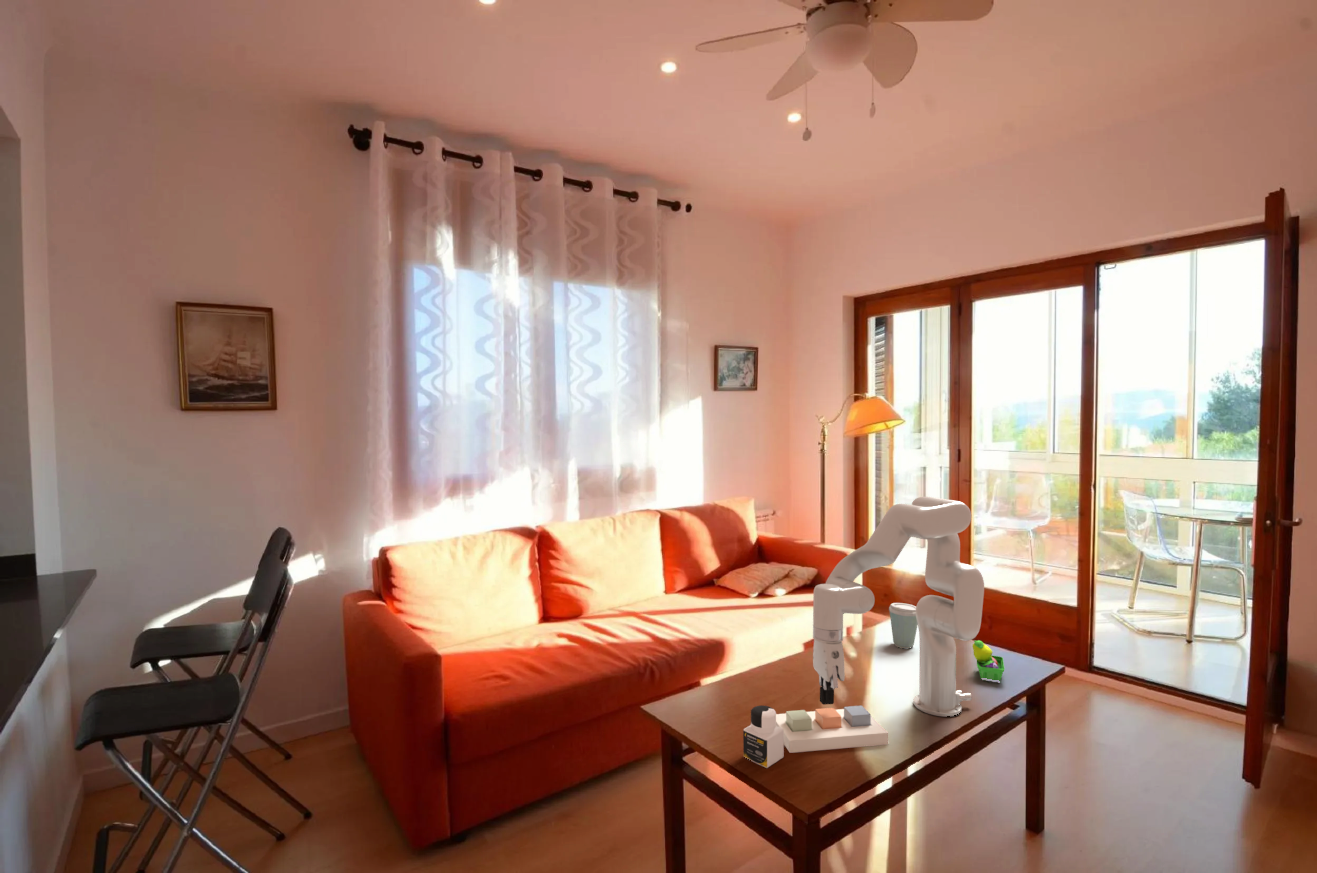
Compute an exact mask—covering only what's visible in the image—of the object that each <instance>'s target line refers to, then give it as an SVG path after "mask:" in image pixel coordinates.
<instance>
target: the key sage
mask: <svg viewBox="0 0 1317 873" xmlns="http://www.w3.org/2000/svg"><path fill="white" fill-rule="evenodd" d="M807 712H808V711H806V710H805V709H800V710H788V711H787V710H786V711H785V713H786V724H787V725H788V727H789V728H790V729H791V731H792V732H796V731H809V730H812V719H811V717H810V716H809V715H808V714H807Z"/></svg>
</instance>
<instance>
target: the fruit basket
mask: <svg viewBox="0 0 1317 873" xmlns="http://www.w3.org/2000/svg"><path fill="white" fill-rule="evenodd" d="M973 642H974V643H972V650H973V652H972V653H973V656H974V658H975V659H976V666H977V669H978V672H979V676H980V677H979V678H980V679H981V678H987V679H992V680H999V681H1000V680H1002V677H1003V673H1004V671H1005V664H1004V663H1005V662H1004V657H1002V656H998V655H993V650H992V649H991V648H990V647H989V646H988V645H987V644H985V643H984V642H983V641H982V640H974V641H973ZM1000 682H1001V681H1000Z"/></svg>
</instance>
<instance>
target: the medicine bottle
mask: <svg viewBox="0 0 1317 873" xmlns="http://www.w3.org/2000/svg"><path fill="white" fill-rule="evenodd" d="M776 714H777V711H776V710H775V709H774V708H773V707H772V706H767V705H756V706H754V707H752V708H751V709H750V725H747V727H744V728H743V731H742V732H743V735H742V736H743V737H742V738H743V740H742V743H743V745H742V746H743V754H742V755H743V758H744V757H745V759H746V758H747V760H748V759H749V760H748V761H750V760H751V762H753V763H755V764H756V765H759V766H761V767H764V768H766V769H768V768H769V767H771V766H773V765H774V764H775V763H777V762H779V761H780V760H781V759H783V758H784V757H785V756H784V753H785V751H784V750H785V749H784V748H785V745H784V730H783V729H782V728H780V727H777V726H776Z"/></svg>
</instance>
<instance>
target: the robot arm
mask: <svg viewBox="0 0 1317 873" xmlns="http://www.w3.org/2000/svg"><path fill="white" fill-rule="evenodd" d="M971 522H972V512H971V509H970V508H969V506H968V505H967V504H965V503H964V502H962V501H959V500H953V499H948V498H947V499H945V498H942V497H941V498H940V497H934V496H918V497H916V498H915V499H913V501H912V503H911V504H908V503H897V504H894V505H892V506H890V507H889V509H888V510H887V512H886V513H885V514H884V516H883V517H882V519H881V520H880V522H879V524H878V525H877V526H876V528H875V530H874V532H873V533H872V534H871V536H870V538H869V539H868V540H867V541H866V543H865V544H864V545H862V546H860V547H859V548H857V549H855V550H854V551H852V552H851V553H849V554H848V555H846V556H845V557H844V558H841V560H840V561H839V562H838V563H837V564H836V565H835V567H834V568H833V570H832V571H831V573H829V576H828V577H827V579H826V580H825V583H820V584H817V585H815V587H814V589H813V607H812V609H813V610H812V611H813V613H812V615H813V618H812V620H813V621H812V638H813V650H812V666H813V668H814V671H815V672H817V674H818V678H819V679H818V682H819V686H820V687H819V702H820V703H821V704H822V705H833V704H835V690H836V689H837V688H839V682H838V680H839V681H841V682H844V681H845V677H846V676H845V673H846V672H845V655H844V646H843V641H844V640H843V639H844V614H853V615H862V614H866V613H868V612H869V611H870V610H872V609H873V607H874V605H875V600H876V599H875V595H874V593H873V591H872V589H870V588H869V587H867V586H865V585H863V584H860V583H858V582H855V580H856V579H857V578H858V577H859V576H860V575H861V574H864V573H866V572H867V571H868V570H869V571H870V570H871V569H876V568H877V569H878V568H881V567H882V568H883V567H885V566H889V565H893V564H894V563H895V562H896V561H897V558H899V556H900V554H901V553H902V551H903V549H904V548H905V546H906V545H907V543H908V542H909V540H910V539H911V538H916V539H920V540H927V541H926V543H927V550H926V559H925V560H926V561H925V568H924V569H925V571H924V572H925V573H924V580H925V584H926V585H927V587H928V588H930V590H934V591H935V592H939V593H941V594H944V595H948V596H951V597H953V600H952V599H950V598H947V597H943V596H939V595H934V594H929V595H928V594H927V595H925V596H922V597H921V598H920V599H919V600H918V602H917V604H916V618H917V623H918V625H917V629H918V632H919V633H918V637H919V680H918V681H919V684H918V685H919V692H918V693H919V694H917V695H916V696H914V697H913V706H915V708H916V709H918V710H919V711H921V712H924V713H925V714H929V715H931V716H935V717H943V718H944V717H947V716H950V717H955V716H954V715H956V716H958V715H960V714H961V713H962V712H963V710H962V709H963V706H962V705H961V702H963V701H966V702H967V701H972V700H973V696H972V694H971V693H970V692H965V693H963V691H962V690H956V689H957V645H956V641H955V639H956V640H960V641H965V642H969V641H972V640H973V639H976V637H977V635H978V634H979V632H980V629H981V626H982V625H981V624H982V618H983V605H984V596H985V580H984V576H983V574H982V572H981V571H980V570H979V569H978V568H976V567H975V566H973V565H971V564H968V563H964V562H961V560H960V559H961V541H960V537H959V533H962V532H963V531H965V530H966V529H967V528H968V527H969V526H970V524H971ZM960 712H961V713H960ZM959 713H960V714H959ZM957 714H958V715H957Z"/></svg>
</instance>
